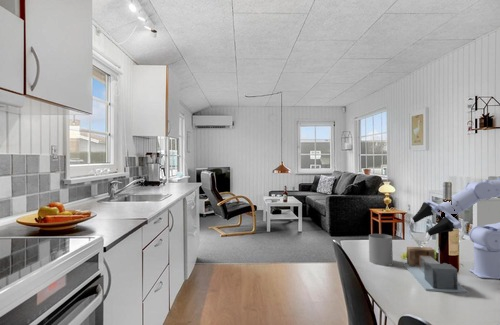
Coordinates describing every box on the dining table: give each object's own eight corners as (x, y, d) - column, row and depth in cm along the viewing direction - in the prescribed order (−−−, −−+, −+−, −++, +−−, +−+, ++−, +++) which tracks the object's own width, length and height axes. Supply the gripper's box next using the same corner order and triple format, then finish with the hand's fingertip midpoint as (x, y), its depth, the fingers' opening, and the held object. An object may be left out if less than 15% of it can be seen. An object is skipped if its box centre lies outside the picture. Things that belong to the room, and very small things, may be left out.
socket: (431, 264, 117) (430, 247, 117) (434, 267, 114) (434, 250, 114) (407, 263, 119) (406, 246, 119) (409, 266, 115) (409, 249, 115)
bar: (430, 269, 111) (430, 255, 111) (450, 287, 95) (449, 271, 95) (419, 268, 112) (419, 255, 112) (436, 286, 96) (436, 270, 96)
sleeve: (446, 280, 101) (446, 261, 101) (457, 289, 93) (457, 269, 93) (424, 278, 102) (424, 260, 103) (433, 288, 95) (433, 268, 95)
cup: (394, 265, 118) (394, 239, 118) (371, 264, 120) (371, 238, 120) (389, 259, 126) (389, 234, 126) (367, 258, 128) (367, 233, 128)
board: (435, 266, 117) (435, 264, 117) (467, 293, 92) (467, 290, 92) (403, 264, 119) (403, 263, 119) (425, 290, 95) (425, 288, 95)
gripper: (437, 186, 113) (404, 207, 114) (470, 208, 100) (432, 232, 101) (442, 200, 116) (410, 220, 117) (475, 223, 103) (438, 245, 104)
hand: (420, 226), depth 109 cm, fingers open, 7 cm apart
